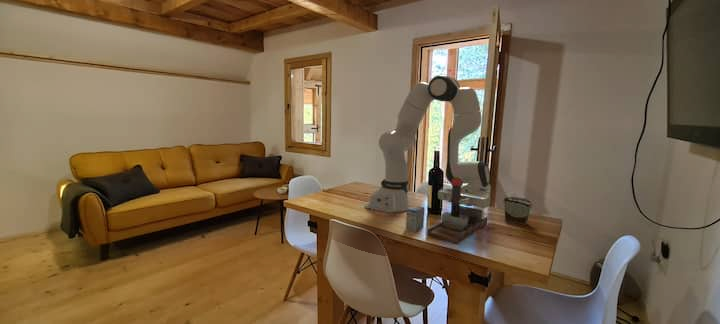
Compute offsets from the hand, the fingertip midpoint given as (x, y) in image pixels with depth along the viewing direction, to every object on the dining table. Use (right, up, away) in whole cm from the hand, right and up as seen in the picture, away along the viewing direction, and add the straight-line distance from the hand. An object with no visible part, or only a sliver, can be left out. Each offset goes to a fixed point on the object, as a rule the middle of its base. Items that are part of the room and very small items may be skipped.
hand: (454, 201), depth 121 cm
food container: (+34, -11, +18) cm, 40 cm away
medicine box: (-14, -12, +7) cm, 20 cm away
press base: (+3, -12, +6) cm, 14 cm away
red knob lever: (0, -11, +2) cm, 11 cm away
